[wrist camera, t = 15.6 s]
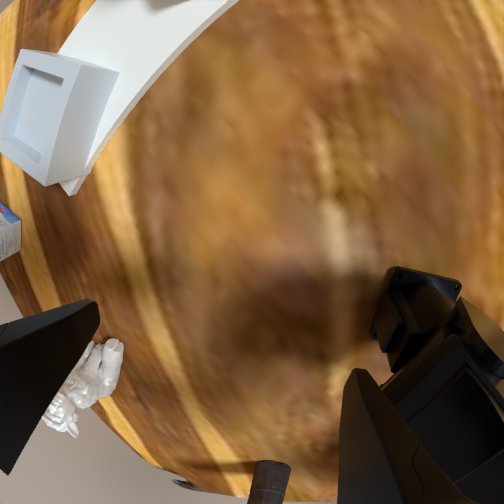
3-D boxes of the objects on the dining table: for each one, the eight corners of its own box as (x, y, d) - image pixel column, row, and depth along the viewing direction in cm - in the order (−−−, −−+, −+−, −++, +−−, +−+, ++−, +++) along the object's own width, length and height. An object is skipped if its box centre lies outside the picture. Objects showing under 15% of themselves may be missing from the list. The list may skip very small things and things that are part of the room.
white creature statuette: (125, 338, 28) (62, 417, 17) (142, 391, 32) (97, 463, 21) (66, 320, 30) (4, 379, 19) (86, 371, 33) (38, 428, 22)
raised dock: (127, 74, 18) (81, 64, 13) (90, 173, 22) (45, 186, 17) (63, 54, 18) (21, 48, 13) (35, 139, 22) (-6, 147, 16)
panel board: (228, -99, 10) (226, -105, 9) (324, -56, 11) (324, -62, 10) (26, 124, 21) (19, 125, 20) (76, 193, 23) (69, 196, 22)
